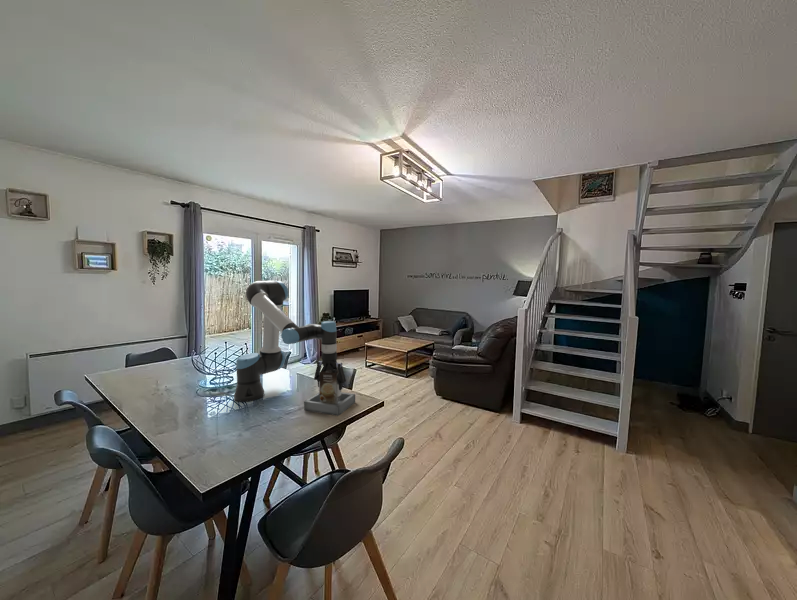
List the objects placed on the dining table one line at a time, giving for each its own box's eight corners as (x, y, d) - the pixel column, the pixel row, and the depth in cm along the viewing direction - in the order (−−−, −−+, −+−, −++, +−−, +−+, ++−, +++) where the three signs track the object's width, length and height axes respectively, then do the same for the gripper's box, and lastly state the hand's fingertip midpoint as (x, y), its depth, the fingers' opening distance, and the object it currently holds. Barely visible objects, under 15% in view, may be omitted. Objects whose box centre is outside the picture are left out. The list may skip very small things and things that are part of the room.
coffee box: (319, 403, 154) (318, 372, 152) (323, 398, 160) (323, 369, 159) (337, 404, 153) (336, 373, 152) (340, 399, 159) (340, 369, 158)
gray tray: (304, 410, 152) (303, 401, 152) (323, 397, 168) (323, 389, 168) (338, 416, 145) (338, 406, 145) (355, 402, 161) (355, 394, 161)
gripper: (306, 351, 155) (307, 394, 157) (345, 355, 147) (345, 400, 149) (314, 348, 162) (315, 389, 164) (352, 351, 154) (353, 394, 156)
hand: (330, 394), depth 156 cm, fingers closed on coffee box, 10 cm apart
